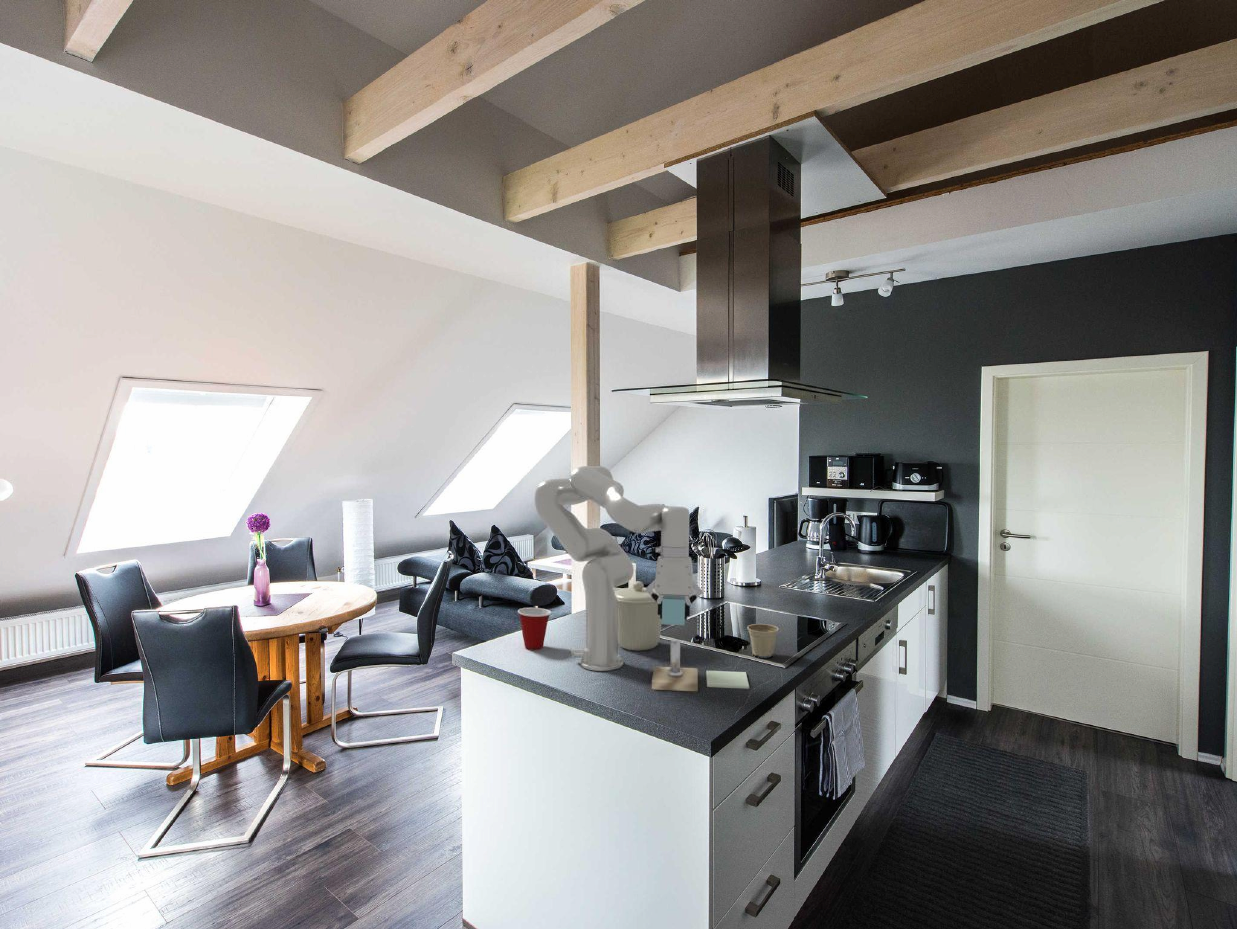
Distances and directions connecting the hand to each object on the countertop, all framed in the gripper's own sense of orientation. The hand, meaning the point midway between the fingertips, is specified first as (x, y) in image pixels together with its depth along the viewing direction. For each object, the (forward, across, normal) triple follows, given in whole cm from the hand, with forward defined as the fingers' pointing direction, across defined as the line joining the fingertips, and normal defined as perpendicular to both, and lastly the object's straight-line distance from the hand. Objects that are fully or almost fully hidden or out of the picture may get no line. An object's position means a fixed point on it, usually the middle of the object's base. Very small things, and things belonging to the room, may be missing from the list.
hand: (673, 617), depth 170 cm
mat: (+17, +15, +3) cm, 23 cm away
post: (+15, +1, 0) cm, 15 cm away
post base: (+17, +1, 0) cm, 17 cm away
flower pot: (+18, +27, +26) cm, 41 cm away
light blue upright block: (+1, 0, 0) cm, 1 cm away
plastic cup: (+19, -45, +26) cm, 55 cm away
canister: (+18, -12, +31) cm, 38 cm away
